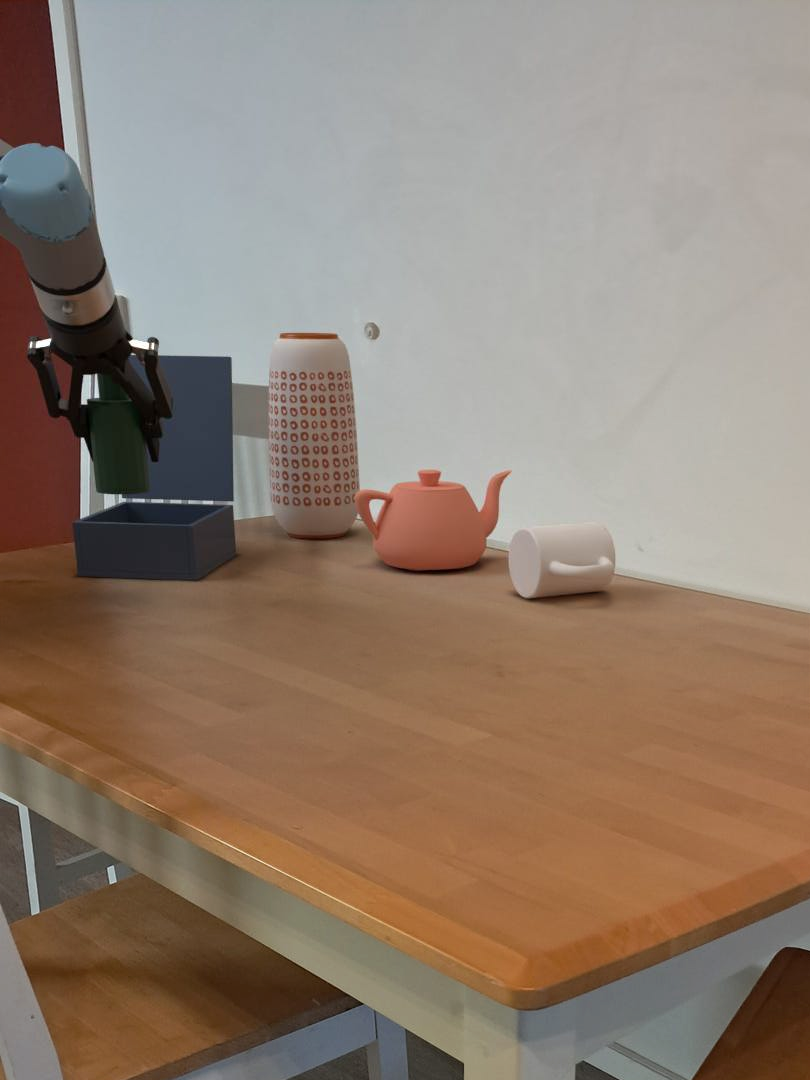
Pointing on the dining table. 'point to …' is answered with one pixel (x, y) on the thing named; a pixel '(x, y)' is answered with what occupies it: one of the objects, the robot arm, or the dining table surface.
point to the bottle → (117, 441)
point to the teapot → (431, 522)
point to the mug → (561, 559)
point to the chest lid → (193, 431)
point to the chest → (154, 540)
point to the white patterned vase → (312, 436)
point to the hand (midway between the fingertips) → (126, 452)
